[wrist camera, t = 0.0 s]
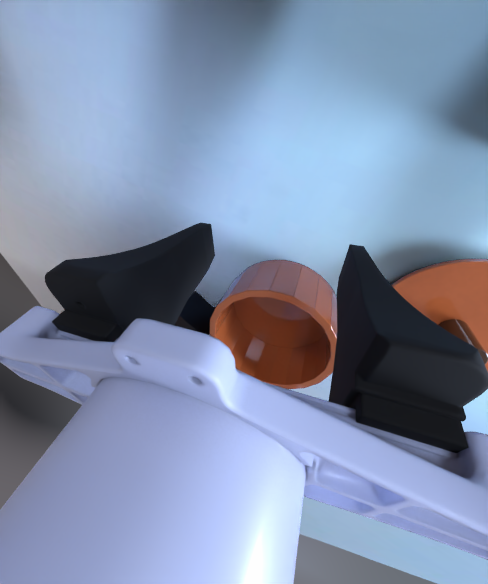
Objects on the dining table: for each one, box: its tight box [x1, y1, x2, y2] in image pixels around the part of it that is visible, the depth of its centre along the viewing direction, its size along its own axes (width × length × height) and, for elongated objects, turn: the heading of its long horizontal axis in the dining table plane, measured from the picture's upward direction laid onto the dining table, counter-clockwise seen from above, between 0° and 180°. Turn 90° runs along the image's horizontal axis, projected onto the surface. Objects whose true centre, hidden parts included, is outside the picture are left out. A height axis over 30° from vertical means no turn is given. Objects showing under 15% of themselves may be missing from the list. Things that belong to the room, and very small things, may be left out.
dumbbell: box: [175, 291, 215, 335], centre depth 31 cm, size 8×5×5 cm, turn 139°
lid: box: [392, 259, 488, 371], centre depth 21 cm, size 13×13×5 cm
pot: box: [210, 260, 337, 389], centre depth 25 cm, size 12×12×6 cm
